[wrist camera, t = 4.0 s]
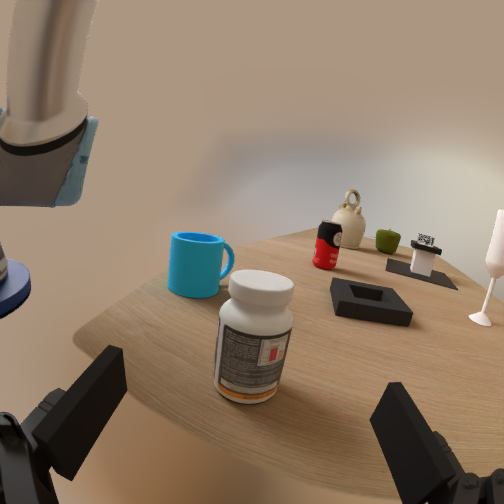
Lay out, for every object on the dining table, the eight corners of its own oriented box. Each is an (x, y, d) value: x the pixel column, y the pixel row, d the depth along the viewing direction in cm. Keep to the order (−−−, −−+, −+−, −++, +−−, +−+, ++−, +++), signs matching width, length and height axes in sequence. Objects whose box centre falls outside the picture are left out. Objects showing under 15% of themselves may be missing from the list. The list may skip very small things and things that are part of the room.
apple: (377, 248, 128) (381, 226, 126) (399, 254, 120) (403, 232, 118) (369, 249, 119) (374, 225, 116) (393, 256, 111) (399, 231, 109)
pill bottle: (289, 392, 22) (318, 288, 19) (236, 415, 18) (257, 298, 16) (250, 360, 26) (267, 265, 24) (199, 375, 22) (209, 269, 20)
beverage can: (312, 268, 68) (322, 220, 65) (310, 262, 74) (318, 218, 71) (336, 272, 67) (346, 225, 65) (332, 265, 73) (341, 222, 71)
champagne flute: (468, 320, 42) (496, 207, 37) (468, 312, 47) (492, 209, 42) (493, 329, 37) (522, 215, 32) (490, 320, 42) (515, 217, 37)
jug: (323, 240, 123) (332, 186, 118) (354, 245, 123) (363, 193, 118) (332, 246, 108) (343, 185, 103) (366, 252, 108) (376, 193, 103)
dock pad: (335, 315, 40) (339, 300, 39) (329, 289, 52) (332, 277, 52) (408, 326, 38) (413, 312, 37) (389, 299, 50) (392, 288, 50)
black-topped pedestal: (458, 290, 66) (469, 248, 63) (385, 270, 78) (394, 228, 75) (444, 273, 90) (451, 241, 87) (387, 258, 102) (394, 226, 99)
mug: (185, 301, 37) (190, 244, 35) (158, 281, 43) (162, 231, 41) (246, 289, 46) (253, 241, 44) (216, 274, 51) (221, 231, 49)
